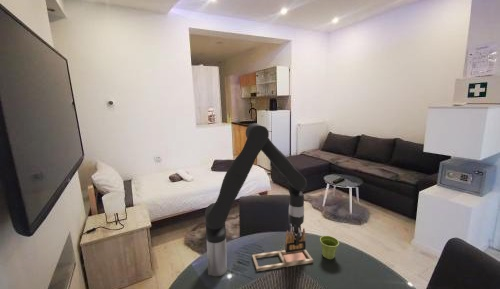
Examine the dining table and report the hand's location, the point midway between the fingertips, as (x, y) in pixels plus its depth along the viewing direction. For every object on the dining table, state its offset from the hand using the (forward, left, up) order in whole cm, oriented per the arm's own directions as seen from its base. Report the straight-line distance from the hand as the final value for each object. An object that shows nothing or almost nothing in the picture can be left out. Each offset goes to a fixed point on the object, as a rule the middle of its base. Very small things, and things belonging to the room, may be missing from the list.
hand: (295, 243), depth 119 cm
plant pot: (+18, -2, -8) cm, 20 cm away
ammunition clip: (0, 0, -4) cm, 4 cm away
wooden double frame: (-7, 0, -8) cm, 11 cm away
